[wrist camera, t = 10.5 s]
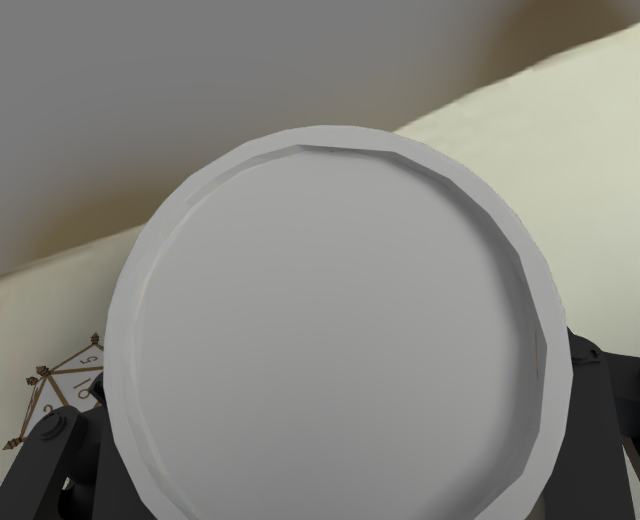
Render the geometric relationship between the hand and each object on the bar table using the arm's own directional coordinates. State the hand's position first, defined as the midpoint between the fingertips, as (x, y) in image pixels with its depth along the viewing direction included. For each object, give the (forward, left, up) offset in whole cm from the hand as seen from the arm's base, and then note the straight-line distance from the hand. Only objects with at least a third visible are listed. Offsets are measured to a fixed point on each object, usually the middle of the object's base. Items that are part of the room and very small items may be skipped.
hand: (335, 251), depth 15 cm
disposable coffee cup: (-3, +2, -4) cm, 5 cm away
